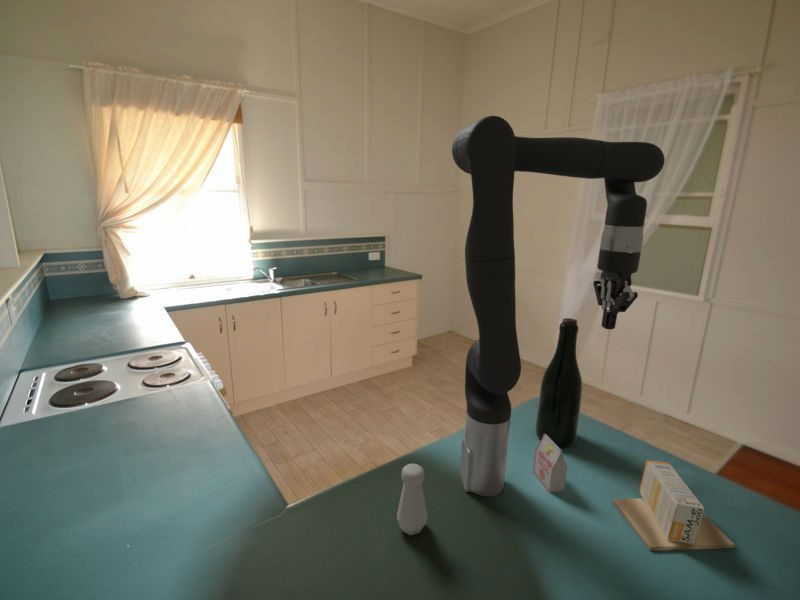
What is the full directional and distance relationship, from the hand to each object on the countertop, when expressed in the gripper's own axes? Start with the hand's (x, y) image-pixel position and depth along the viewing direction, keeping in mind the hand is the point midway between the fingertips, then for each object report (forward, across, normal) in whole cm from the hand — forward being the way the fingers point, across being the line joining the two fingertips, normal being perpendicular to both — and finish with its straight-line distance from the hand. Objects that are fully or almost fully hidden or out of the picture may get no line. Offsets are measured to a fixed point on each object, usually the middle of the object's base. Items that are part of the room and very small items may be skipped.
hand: (607, 328), depth 87 cm
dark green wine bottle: (+35, -13, -2) cm, 38 cm away
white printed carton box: (+35, +4, -11) cm, 37 cm away
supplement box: (+30, +9, +9) cm, 33 cm away
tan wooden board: (+35, +17, +8) cm, 40 cm away
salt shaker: (+35, +16, -43) cm, 58 cm away
